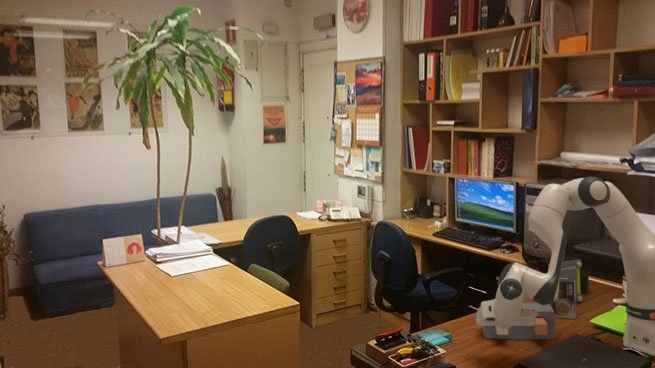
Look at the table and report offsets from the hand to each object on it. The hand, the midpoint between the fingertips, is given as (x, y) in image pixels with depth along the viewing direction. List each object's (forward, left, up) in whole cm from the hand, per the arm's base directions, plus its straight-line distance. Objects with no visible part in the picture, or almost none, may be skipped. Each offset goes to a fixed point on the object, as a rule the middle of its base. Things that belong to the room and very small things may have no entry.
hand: (504, 327), depth 200 cm
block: (+12, -15, -10) cm, 21 cm away
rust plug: (+4, -18, -5) cm, 19 cm away
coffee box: (+21, -45, -10) cm, 50 cm away
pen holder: (+44, -73, -10) cm, 86 cm away
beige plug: (+10, -5, -5) cm, 13 cm away
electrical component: (+36, -56, -10) cm, 67 cm away
